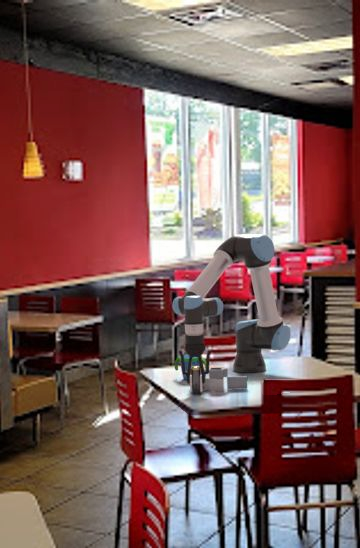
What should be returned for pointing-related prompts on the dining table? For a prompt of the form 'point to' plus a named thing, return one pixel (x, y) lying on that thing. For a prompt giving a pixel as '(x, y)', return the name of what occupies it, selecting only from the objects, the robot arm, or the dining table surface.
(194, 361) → the snack cup
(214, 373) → the grey stacked cubes
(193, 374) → the pin
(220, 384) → the fixed leaf
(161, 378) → the dining table surface
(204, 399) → the dining table surface
